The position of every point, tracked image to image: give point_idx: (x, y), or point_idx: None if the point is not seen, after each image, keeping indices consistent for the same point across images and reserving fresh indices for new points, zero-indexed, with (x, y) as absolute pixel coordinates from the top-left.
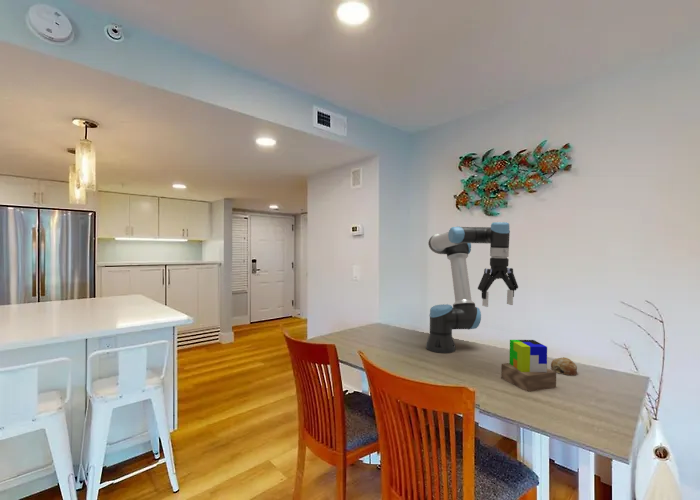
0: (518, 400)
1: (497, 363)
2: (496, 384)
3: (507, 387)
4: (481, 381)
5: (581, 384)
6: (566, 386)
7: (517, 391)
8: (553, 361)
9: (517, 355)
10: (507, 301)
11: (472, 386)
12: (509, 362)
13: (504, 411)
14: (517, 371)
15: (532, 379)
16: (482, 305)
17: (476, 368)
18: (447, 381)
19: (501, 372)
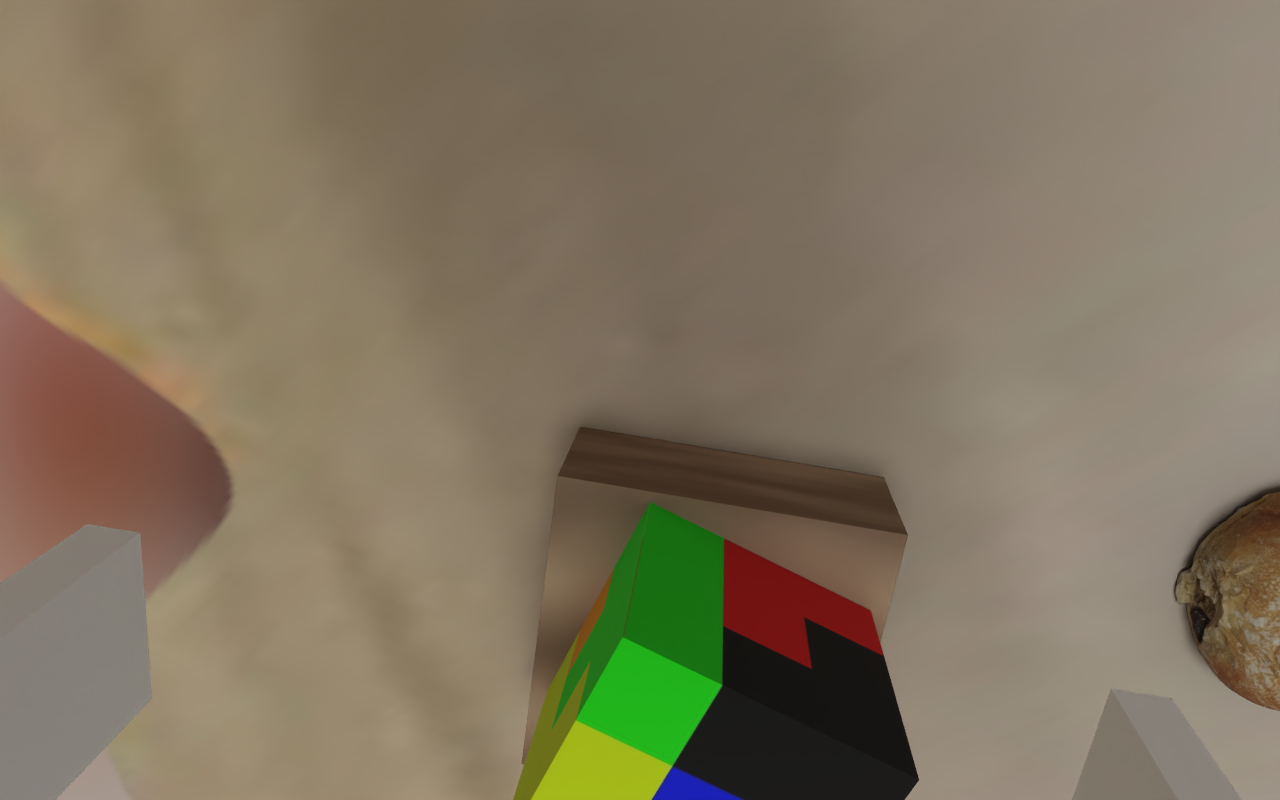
0: (363, 730)
1: (908, 121)
2: (432, 497)
3: (467, 572)
4: (360, 400)
5: (1066, 791)
6: (913, 759)
7: (478, 647)
8: (1277, 566)
9: (557, 709)
10: (1138, 775)
11: (219, 438)
12: (649, 505)
13: (165, 772)
14: (535, 659)
15: None
16: (83, 532)
17: (560, 137)
18: (81, 270)
19: (572, 446)
